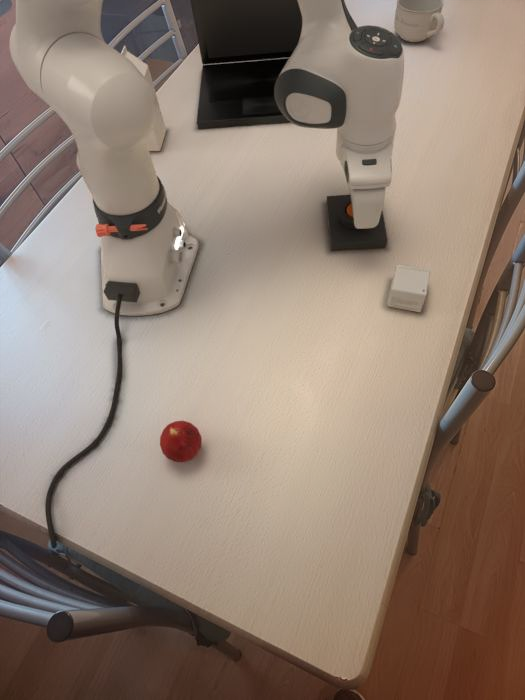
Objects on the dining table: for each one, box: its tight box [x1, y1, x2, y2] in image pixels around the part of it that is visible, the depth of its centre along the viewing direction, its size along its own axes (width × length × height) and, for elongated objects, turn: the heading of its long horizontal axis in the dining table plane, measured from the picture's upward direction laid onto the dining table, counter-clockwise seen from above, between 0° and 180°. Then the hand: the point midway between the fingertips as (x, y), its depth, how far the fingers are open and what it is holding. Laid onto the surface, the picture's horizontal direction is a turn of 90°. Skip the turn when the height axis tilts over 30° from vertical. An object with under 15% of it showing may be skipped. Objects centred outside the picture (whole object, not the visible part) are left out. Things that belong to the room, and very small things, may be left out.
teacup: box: [393, 0, 445, 43], centre depth 120 cm, size 14×11×8 cm
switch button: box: [346, 204, 353, 218], centre depth 91 cm, size 4×4×2 cm
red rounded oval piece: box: [159, 420, 202, 463], centre depth 71 cm, size 6×6×8 cm
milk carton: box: [120, 44, 167, 152], centre depth 103 cm, size 7×7×19 cm
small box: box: [386, 263, 431, 313], centre depth 83 cm, size 6×6×5 cm
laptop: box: [196, 57, 291, 130], centre depth 116 cm, size 22×30×2 cm
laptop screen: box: [190, 0, 302, 66], centre depth 111 cm, size 22×30×1 cm
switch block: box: [325, 194, 388, 252], centre depth 92 cm, size 12×10×4 cm
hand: (357, 208), depth 90 cm, fingers closed, pressing on switch button
